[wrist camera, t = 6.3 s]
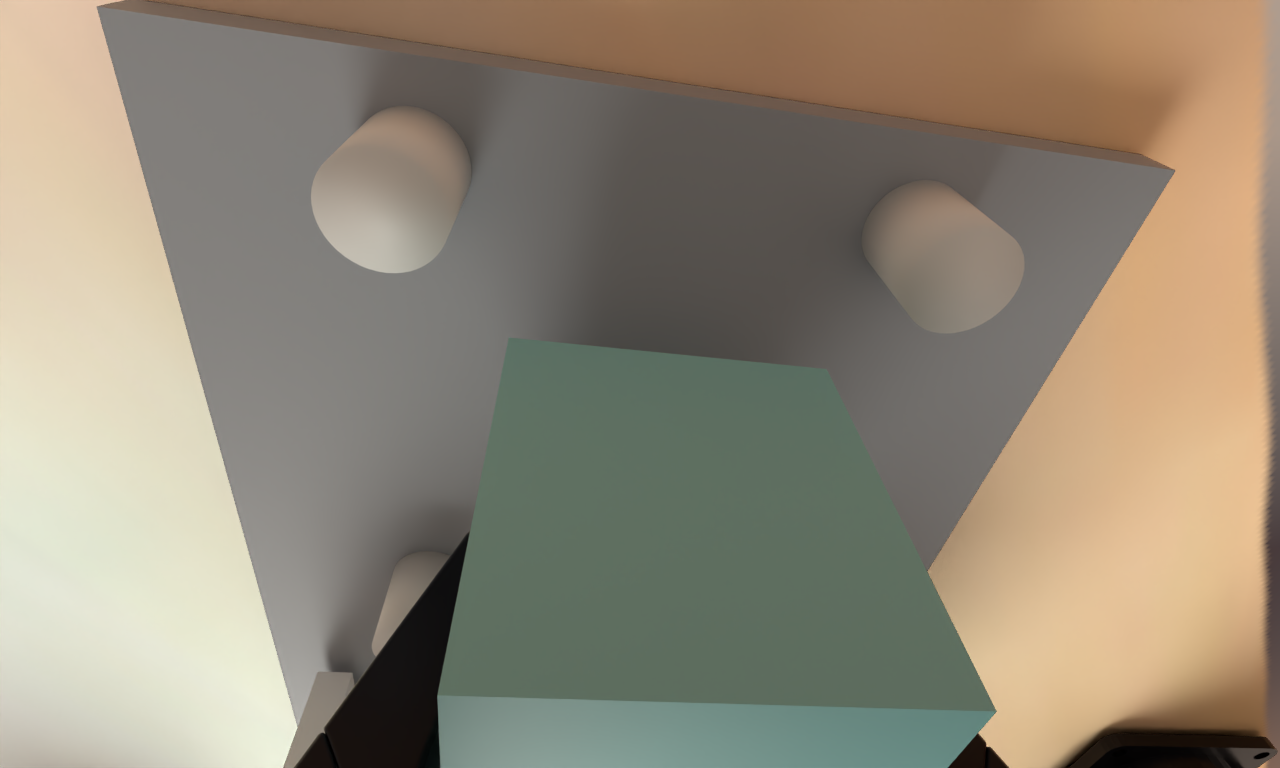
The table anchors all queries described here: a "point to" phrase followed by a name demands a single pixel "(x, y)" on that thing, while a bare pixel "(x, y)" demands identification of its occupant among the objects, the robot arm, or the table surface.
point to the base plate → (568, 276)
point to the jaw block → (692, 579)
